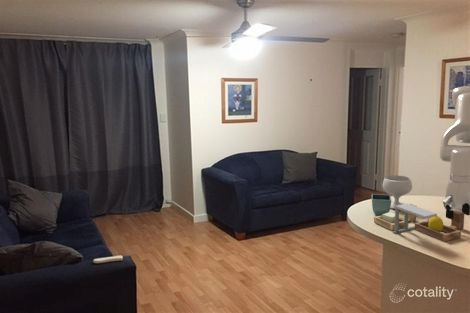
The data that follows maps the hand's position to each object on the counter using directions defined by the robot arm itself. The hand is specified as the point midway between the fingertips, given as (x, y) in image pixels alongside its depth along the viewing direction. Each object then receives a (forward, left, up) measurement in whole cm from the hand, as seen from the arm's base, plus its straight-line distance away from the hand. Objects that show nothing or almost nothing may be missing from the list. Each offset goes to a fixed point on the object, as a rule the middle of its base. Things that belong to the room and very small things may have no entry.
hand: (457, 216), depth 164 cm
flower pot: (+16, -29, -5) cm, 33 cm away
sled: (+17, -16, -5) cm, 24 cm away
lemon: (+13, 0, -5) cm, 14 cm away
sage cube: (+22, -16, -5) cm, 27 cm away
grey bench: (+16, -1, -5) cm, 17 cm away
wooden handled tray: (+8, 0, -5) cm, 9 cm away
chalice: (0, -34, -5) cm, 35 cm away
